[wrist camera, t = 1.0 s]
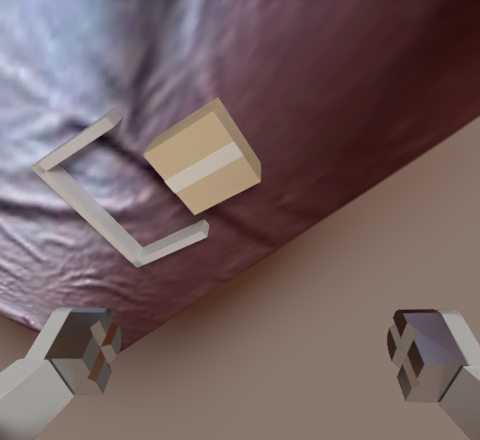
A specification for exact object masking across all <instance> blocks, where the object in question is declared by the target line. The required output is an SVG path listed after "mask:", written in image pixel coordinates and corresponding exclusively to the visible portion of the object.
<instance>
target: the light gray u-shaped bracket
mask: <svg viewBox="0 0 480 440" xmlns="http://www.w3.org/2000/svg"><path fill="white" fill-rule="evenodd" d="M121 119H122V116H121V115H120V114H119V113H118V111H117V110H116V109H113V110H112V111H110V112H109V113H107V114H106V115H105V116H103V117H102V118H100V119H99V120H97V121H96V122H94V123H93V124H91V125H90V126H88V127H87V128H86V129H84V130H83V131H81V132H80V133H78V134H77V135H75V136H74V137H72V138H71V139H69V140H68V141H66V142H65V143H64V144H62V145H61V146H59V147H58V148H56V149H55V150H53V151H52V152H50V153H49V154H47V155H46V156H45V157H43V158H42V159H41V160H39V161H38V162H37V163H36V164H35V165H34V166H33V167H31V169H32V170H33V171H34V172H35V173H37V174H38V175H39V176H40V177H41V178H42V179H43V180H44V181H45V182H46V183H47V184H48V185H49V186H50V187H51V188H52V189H54V190H55V191H56V192H57V193H58V194H59V195H60V196H61V197H62V198H63V199H64V200H65V201H66V202H67V203H68V204H70V205H71V206H72V207H73V208H74V209H75V210H76V211H77V212H78V213H79V214H80V215H81V216H82V217H83V218H84V219H85V220H87V221H88V222H89V223H90V224H91V225H92V226H93V227H94V228H95V229H96V230H97V231H98V232H99V233H100V234H101V235H102V236H104V237H105V238H106V239H107V240H108V241H109V242H110V243H111V244H112V245H113V246H114V247H115V248H116V249H117V250H118V251H119V252H121V253H122V254H123V255H124V256H125V257H126V258H127V259H128V260H129V261H130V262H131V263H132V264H133V265H134V266H135V267H136V268H138V267H140V266H142V265H145V264H147V263H149V262H152V261H154V260H156V259H158V258H161V257H163V256H165V255H168V254H170V253H172V252H174V251H177V250H179V249H181V248H184V247H186V246H188V245H190V244H193V243H195V242H197V241H199V240H202V239H204V238H206V237H207V235H208V230H209V224H208V223H207V222H206V220H205V219H204V220H202V221H199V222H197V223H195V224H193V225H191V226H189V227H186V228H184V229H182V230H180V231H178V232H176V233H173V234H171V235H169V236H167V237H165V238H163V239H161V240H158V241H156V242H154V243H152V244H150V245H148V246H145V247H142V246H141V245H140V244H139V243H138V242H137V241H136V240H135V239H134V238H133V237H132V236H131V235H130V234H129V233H128V232H127V231H126V230H125V229H124V228H123V227H122V226H121V225H120V224H119V223H117V222H116V221H115V220H114V219H113V218H112V217H111V216H110V215H109V214H108V213H107V212H106V211H105V210H104V209H103V208H102V207H101V206H100V205H99V204H98V203H97V202H96V201H95V200H94V199H93V198H92V197H91V196H90V195H89V194H88V193H87V192H86V191H85V190H84V189H83V188H82V187H81V186H80V185H79V184H78V183H77V182H76V181H75V180H74V179H73V178H72V177H71V176H70V175H69V174H68V173H67V172H66V171H65V170H64V169H63V168H62V167H61V166H60V165H59V164H58V163H60V162H61V161H63V160H64V159H66V158H67V157H69V156H70V155H72V154H73V153H75V152H77V151H78V150H80V149H81V148H83V147H84V146H86V145H87V144H89V143H90V142H92V141H93V140H95V139H96V138H98V137H99V136H101V135H102V134H104V133H105V132H107V131H108V130H110V129H112V128H113V127H115V126H116V124H117V123H118V122H119V121H120V120H121Z"/></svg>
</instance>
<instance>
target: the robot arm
mask: <svg viewBox="0 0 480 440" xmlns="http://www.w3.org/2000/svg"><path fill="white" fill-rule="evenodd" d="M113 318H114V314H113V312H112V310H111V309H102V308H62V307H58V308H57V309H56V310H55V311H53V312H52V314H51V316H50V317H49V319H48V320H47V322H46V324H45V325H44V327H43V329H42V330H41V332H40V334H39V335H38V337H37V339H36V340H35V342H34V344H33V345H32V347H31V348H30V350H29V352H28V353H27V355H26V357H25V358H24V359H18V360H17V361H16V362H14V363H13V364H12V365H11V366H9V367H8V368H7V369H5V370H4V371H2V372H1V373H0V440H34V439H35V438H36V437H37V436H38V434H40V432H41V431H42V430H43V429H44V428H45V427H46V426H47V425H48V424H49V423H50V422H51V420H53V418H54V417H55V416H56V415H57V414H58V413H59V412H60V411H61V410H62V409H63V408H64V406H66V404H67V403H68V402H69V401H70V400H71V399H72V398H73V397H74V395H77V394H78V395H89V394H90V395H92V394H94V395H95V394H103V393H104V390H105V387H106V385H107V382H108V380H109V377H110V374H111V369H110V366H109V364H110V363H111V362H112V361H113V360H114V359H115V358H116V357H117V355H118V352H119V349H120V345H121V330H120V328H119V326H118V325H117V324H116V323H114V322H113V321H112V320H113ZM393 319H394V321H395V324H394V325H393V326H392V327H390V328H389V331H388V335H387V345H388V351H389V354H390V358H391V361H392V362H393V363H394V364H395V365H396V366H397V367H398V368H400V371H399V373H398V376H397V378H398V381H399V384H400V387H401V390H402V393H403V396H404V398H405V401H408V402H428V403H439V406H440V407H441V408H442V409H443V410H444V411H445V412H446V413H447V415H448V416H449V417H450V418H451V419H452V420H453V421H454V422H455V423H456V424H457V426H458V427H459V428H460V429H461V430H462V431H463V432H464V433H465V434H466V435H467V436H468V437H469V439H470V440H480V345H479V344H478V342H477V341H476V339H475V337H474V336H473V334H472V332H471V331H470V329H469V327H468V325H467V324H466V322H465V320H464V319H463V317H462V315H461V314H460V313H459V312H458V311H457V310H434V309H418V310H417V309H415V310H397V311H396V312H395V314H394V317H393Z"/></svg>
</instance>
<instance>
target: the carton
mask: <svg viewBox="0 0 480 440" xmlns="http://www.w3.org/2000/svg"><path fill="white" fill-rule="evenodd" d="M143 156H144V157H145V158H146V159H147V161H148V162H149V163H150V164H151V165H152V166H153V168H154V169H155V170H156V171H157V172H158V173H159V175H160V176H161V177H162V178H163V179H164V180H165V183H166V184H167V185H168V186H169V187H170V189H171V190H172V191H173V192H174V193H176V194H177V195H178V197H179V198H180V199H181V200H182V201H183V202H184V203H185V205H186V206H187V207H188V208H189V209H190V210H191V212H192V213H193V214H194V215H196V214H198V213H200V212H202V211H204V210H206V209H208V208H210V207H212V206H214V205H216V204H218V203H220V202H222V201H224V200H226V199H228V198H230V197H232V196H234V195H236V194H238V193H240V192H242V191H244V190H246V189H248V188H249V187H251V186H253V185H255V184H257V183H259V182H261V163H260V161H259V159H258V158H257V156H256V155H255V153H254V152H253V150H252V149H251V147H250V146H249V144H248V143H247V141H246V139H245V138H244V136H243V135H242V133H241V132H240V130H239V129H238V127H237V126H236V124H235V123H234V121H233V120H232V118H231V116H230V115H229V113H228V112H227V110H226V109H225V107H224V106H223V104H222V103H221V101H220V100H219V98H218V97H217V98H216V99H214V100H212V101H211V102H209V103H208V104H206V105H205V106H203V107H202V108H200V109H198V110H197V111H195V112H194V113H192V114H191V115H189V116H188V117H186V118H185V119H183V120H181V121H180V122H178V123H177V124H175V125H174V126H172V127H171V128H169V129H167V130H166V131H164V132H163V133H161V134H160V135H158V136H157V137H155V138H154V139H153V140H152V142H151V143H150V145H149V146H148V148H147V150H146V151H145V153H144V154H143Z"/></svg>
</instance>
